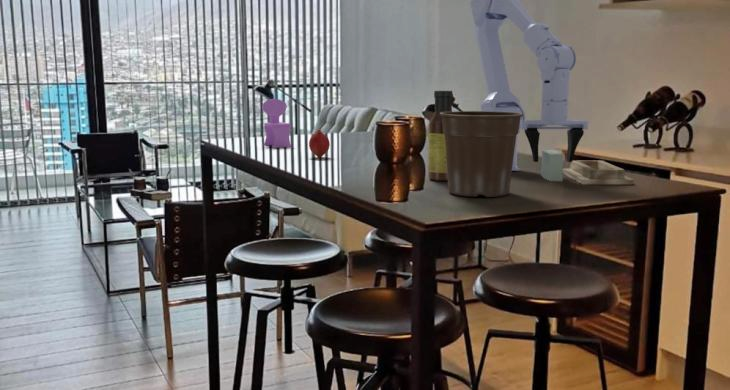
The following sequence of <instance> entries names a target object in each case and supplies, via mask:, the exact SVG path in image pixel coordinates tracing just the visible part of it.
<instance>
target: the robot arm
mask: <svg viewBox="0 0 730 390" xmlns="http://www.w3.org/2000/svg"><path fill="white" fill-rule="evenodd" d="M469 3H470V7H471V8H470V9H471V13H472V18H473V22H474V23H473V25H474V33H475V38H476V43H477V44H476V45H477V49H478V53H479V58H480V63H481V64H480V65H481V68H482V69H481V70H482V72H483V78H484V79H483V80H484V83H485V89H486V92H487V97H486V98H485V99H484V100H483V102H482V103H481V104H480V109H481V110H480V111H489V112H514V113H522V114H523V116H522V117H521V118H520V124H519V131H518V134H517V135H516V142H515V149H514V157H513V165H512V172H520V171H521V170H522V169H521V168H520V167H518V166H517V162H518V138H519V136H518V135H519V134H520V133H521V130H523V131H524V133H525V136H526V138H527V141H528V143H529V147H530V151H531V155H532V161H533V162H534V163H539V141H540V135H541V132H539V130H566V131H567V151H566V161H567V162H569V163H571V162H572V161H573V160H574V156H575V152H576V149H577V147H578V145H579V143H580V141H581V139H582V137H583V136H584V134H585V133H584V132H585V131H584V130H588V128H589V121H588V120H586V119H585V120H584V119H581V120H580V119H576V120H575V119H569V118H568V115H569V97H570V96H569V94H570V93H569V92H570V91H569V89H570V71H572V69H574V67H575V65H576V62H577V55H576V52H575V50H574V48H573V47H572V46H571V45H569V44H563V43H562V42H561V40H560V39H559V38H557V37H556V36H555V35H554V34H553V32H551V30H550V26H549V25H548V24H547V23H542V22H536V21H535V20H534V18H533V17H532V15H531V14H530V13H529V12H528V10H527V9H526V7H525V6H524V5H523V3H522V2H521V0H470V2H469ZM508 19H509V20H510V21H511V22H512V23H513V24H514V25H515V26H516V27H517V28H518V29H519V30H520V31H521V32H522V34H523V37H522V39H523V42H524V43H525V44H526V46H527V47H528V48H529V49H530V50H531V51H532V53H533V55H535V57H536V58H537V60H536V61H537V67H538V69H539V71H540V78H541V80H542V86H541V89H542V90H541V113H540V116H541V117H540V119H532V120H531V119H530V120H527V119H526V113H525V110H524V108H523V107H522V105H521V103H520V98H518V97H517V96H516V95H515V94H513V92H511V89H510V84H509V80H508V75H507V70H506V63H505V60H504V56H503V55H504V54H503V51H502V45H501V40H500V36H499V29H500V27H501V26H503V25H505V23H506V22H507V21H508Z"/></svg>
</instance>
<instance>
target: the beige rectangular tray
mask: <svg viewBox="0 0 730 390" xmlns="http://www.w3.org/2000/svg"><path fill="white" fill-rule="evenodd" d="M569 163H570V167H569V168H563V175H565V176H567V177H568V178H571V180H574V181H575V180H576V181H575V182H577V183H579V184H580V183H581V184H580V185H634V181H635V180H634V179H633V178H631V177H628V176H626V170H625V169H624V168H622V167H619V166H616V165H614V164H611V163H609V162H606V161H605V160H604V159H603V160H600V159H599V160H594V159H593V160H586V159H585V160H581V159H580V160H574V159H573V161H572V162H569Z"/></svg>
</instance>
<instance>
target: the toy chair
mask: <svg viewBox="0 0 730 390" xmlns="http://www.w3.org/2000/svg"><path fill="white" fill-rule="evenodd" d="M287 106H288V105H287V103H286V102H284V101H283V100H281V99H278V98H270V99H267V100H265V101H264V102H263V104H262V106H261V107H262V111H263V112H264V113H265V114H266V115H267V116H269V122H264V127H263V128H264V130H265V134H266V137H265V140H264V143H263V146H272V149H275V148H276V149H278V148H291V147H292V144H291V141H290V134H291V129H292V126H291V125H292V124H291V123H290V122H289V123H288V122H284V121H281V122H280V117H281V116H282V115H284V114H285V112H286V110H287Z"/></svg>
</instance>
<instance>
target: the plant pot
mask: <svg viewBox="0 0 730 390" xmlns="http://www.w3.org/2000/svg"><path fill="white" fill-rule="evenodd" d="M440 116H442V123H443V133H444V134H445V143H446V160H447V177H448V180H447V189H448V193H449V194H453V195H455V196H461V197H473V198H476V197H478V196H484V197H486V198H494V197H495V198H498V197H504V196H508V194H510V189H511V180H512V172H513V171H512V165H513V157H514V149H515V142H516V135H517V134H518V135H519V133H518V131H519V124H520V118H521V117H522V116H523V114H522V113H514V112H489V111H481V110H475V111H474V110H471V111H469V110H467V111H466V110H465V111H464V110H461V111H457V110H456V111H452V112H441V113H440Z"/></svg>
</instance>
